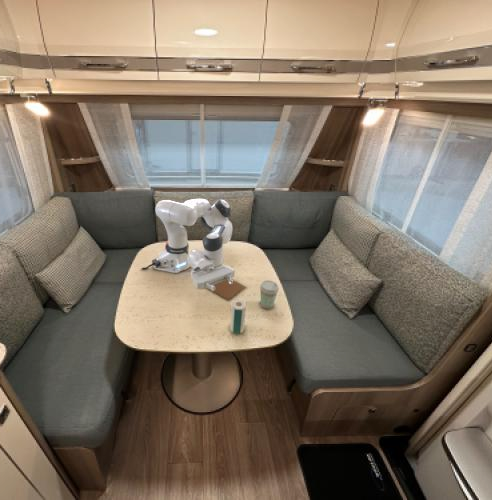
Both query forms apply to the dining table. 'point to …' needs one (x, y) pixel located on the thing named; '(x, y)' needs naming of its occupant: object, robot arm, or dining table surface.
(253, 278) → the dining table surface
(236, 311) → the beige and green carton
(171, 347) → the dining table surface
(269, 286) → the coffee cup
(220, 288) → the cork mat
